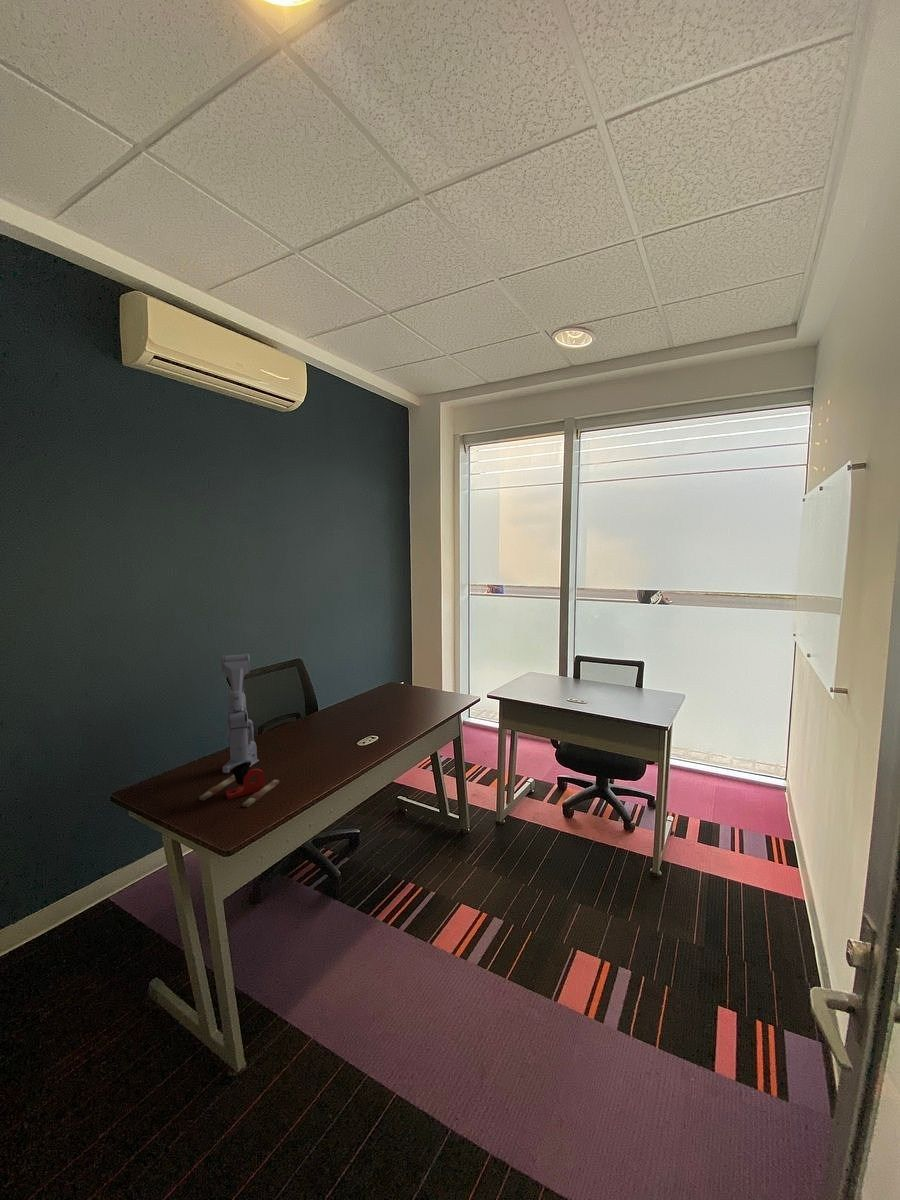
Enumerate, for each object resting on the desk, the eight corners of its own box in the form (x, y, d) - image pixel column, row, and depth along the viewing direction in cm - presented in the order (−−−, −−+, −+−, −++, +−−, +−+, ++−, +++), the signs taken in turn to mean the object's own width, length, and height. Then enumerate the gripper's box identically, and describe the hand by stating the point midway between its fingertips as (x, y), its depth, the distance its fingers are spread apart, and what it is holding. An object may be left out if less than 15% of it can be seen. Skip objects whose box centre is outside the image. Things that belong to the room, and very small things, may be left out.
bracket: (262, 784, 173) (261, 763, 172) (265, 789, 169) (264, 767, 169) (225, 794, 166) (224, 772, 166) (228, 799, 163) (226, 777, 162)
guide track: (233, 776, 179) (233, 773, 179) (279, 782, 174) (279, 779, 174) (198, 799, 163) (198, 796, 162) (248, 807, 157) (248, 803, 157)
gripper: (234, 755, 159) (236, 795, 160) (262, 739, 173) (264, 775, 174) (216, 753, 161) (218, 792, 162) (245, 737, 175) (247, 773, 176)
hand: (241, 783), depth 168 cm, fingers closed
